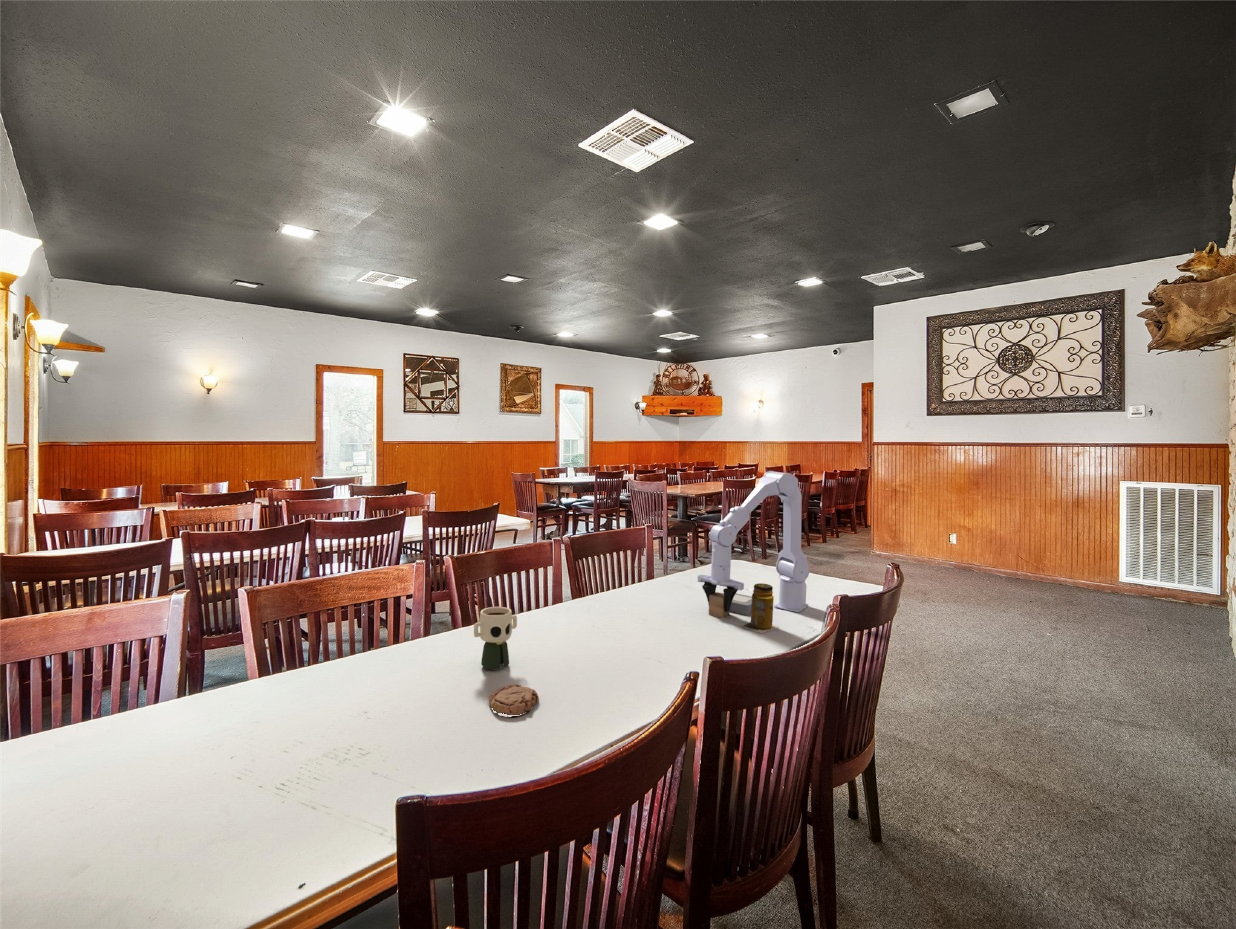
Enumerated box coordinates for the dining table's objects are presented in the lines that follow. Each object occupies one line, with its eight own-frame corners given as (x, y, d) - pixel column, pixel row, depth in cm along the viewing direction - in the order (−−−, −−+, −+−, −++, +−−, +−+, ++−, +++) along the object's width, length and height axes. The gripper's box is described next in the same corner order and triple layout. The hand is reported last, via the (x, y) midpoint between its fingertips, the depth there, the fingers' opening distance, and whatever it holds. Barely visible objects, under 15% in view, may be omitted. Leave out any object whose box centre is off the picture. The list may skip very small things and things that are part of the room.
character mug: (481, 677, 129) (481, 619, 128) (466, 667, 134) (466, 611, 133) (523, 665, 136) (524, 610, 135) (508, 656, 141) (509, 603, 141)
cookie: (489, 721, 111) (490, 706, 110) (487, 696, 121) (487, 682, 121) (542, 716, 113) (543, 701, 113) (535, 692, 123) (536, 678, 123)
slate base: (732, 601, 192) (732, 592, 192) (760, 607, 186) (761, 598, 186) (717, 608, 184) (718, 598, 184) (747, 615, 178) (747, 605, 178)
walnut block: (715, 611, 182) (716, 591, 181) (729, 614, 179) (730, 594, 178) (708, 614, 178) (709, 595, 178) (722, 617, 175) (723, 598, 175)
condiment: (778, 627, 168) (780, 585, 167) (762, 633, 162) (764, 591, 162) (756, 620, 173) (758, 580, 173) (739, 626, 168) (741, 585, 167)
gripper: (693, 563, 179) (691, 607, 179) (737, 571, 170) (735, 617, 171) (704, 559, 184) (702, 602, 185) (747, 567, 176) (745, 611, 176)
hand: (719, 609), depth 178 cm, fingers closed on walnut block, 5 cm apart
